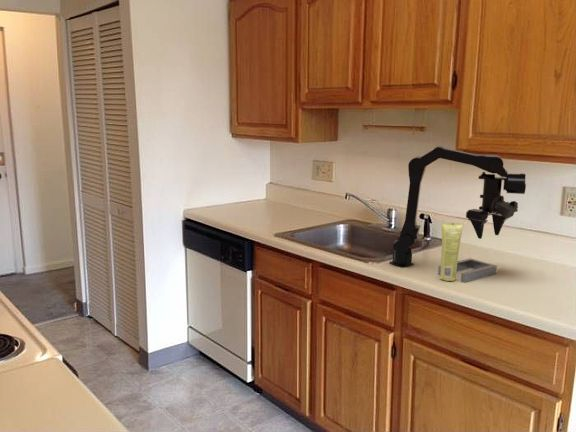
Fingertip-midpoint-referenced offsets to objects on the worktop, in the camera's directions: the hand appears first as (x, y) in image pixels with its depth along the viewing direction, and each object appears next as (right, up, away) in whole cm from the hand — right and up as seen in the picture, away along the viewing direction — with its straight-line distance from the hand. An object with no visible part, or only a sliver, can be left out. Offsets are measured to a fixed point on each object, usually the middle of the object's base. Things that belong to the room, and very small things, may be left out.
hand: (488, 236), depth 183 cm
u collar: (-7, -13, +1) cm, 15 cm away
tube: (-15, -14, -5) cm, 22 cm away
